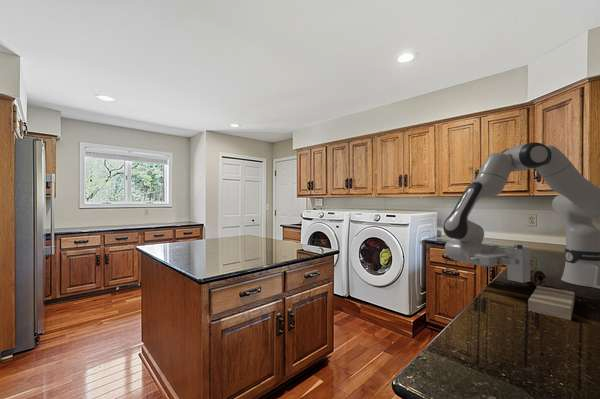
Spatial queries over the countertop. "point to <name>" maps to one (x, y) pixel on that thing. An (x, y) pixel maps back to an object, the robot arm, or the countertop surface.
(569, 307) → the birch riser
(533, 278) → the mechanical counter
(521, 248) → the aluminium block
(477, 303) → the countertop surface
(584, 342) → the countertop surface
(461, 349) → the countertop surface
